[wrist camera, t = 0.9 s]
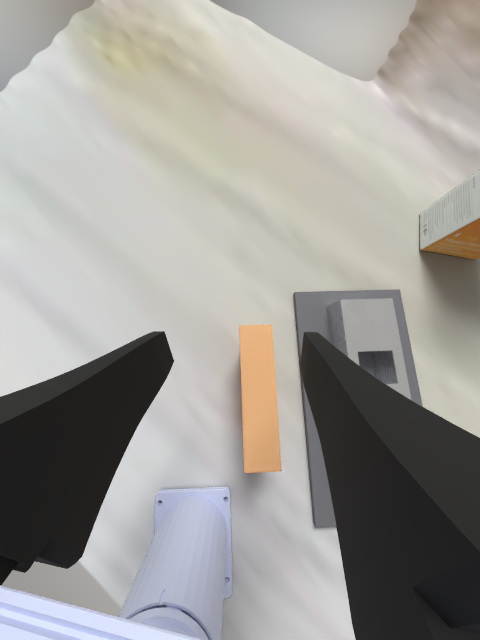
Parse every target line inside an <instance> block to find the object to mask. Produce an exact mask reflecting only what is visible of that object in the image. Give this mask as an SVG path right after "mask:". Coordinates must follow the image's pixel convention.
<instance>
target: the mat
mask: <svg viewBox="0 0 480 640" xmlns="http://www.w3.org/2000/svg"><path fill="white" fill-rule="evenodd" d="M385 298H393V303H394V309H395V314H396V319H397V325H398V330H399V335H400V341H401V346H402V352H403V357H404V362H405V368H406V373H407V378H408V384H409V389H410V395H411V400H412V401H413V402H415V403H417V404H418V405H420V406H422V401H421V396H420V391H419V386H418V381H417V375H416V370H415V365H414V360H413V355H412V350H411V345H410V340H409V334H408V329H407V324H406V319H405V314H404V309H403V304H402V299H401V293H400V290H363V291H325V292H295V293H294V305H295V316H296V327H297V339H298V350H299V361H300V362H301V353H302V344H303V335H304V332H318V333H319V334H321V335H322V336H323V337H324V338H325V339H327V340H328V341H329V342H330V343H331V335H330V327H329V319H328V310H327V306H329V305H331V304H333V303H335V302H337V301H339V300H349V299H385ZM358 358H359V365H360V367H362V368H363V369H364V370H366V371H367V372H369V373H370V374H371V375H373V376H374V377H375V371H374V364H373V358H372V352H371V351H363V352H358ZM300 373H301V366H300ZM301 384H302V395H303V407H304V418H305V430H306V441H307V452H308V464H309V475H310V486H311V498H312V509H313V521H314V524H315V526H316V528H321V527H336V521H335V515H334V510H333V504H332V499H331V493H330V488H329V483H328V478H327V472H326V467H325V462H324V458H323V453H322V448H321V443H320V439H319V435H318V431H317V428H316V425H315V421H314V418H313V415H312V411H311V408H310V405H309V401H308V398H307V394H306V391H305V388H304V384H303V379H302V373H301ZM422 407H423V406H422Z"/></svg>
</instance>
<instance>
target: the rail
mask: <svg viewBox="0 0 480 640" xmlns="http://www.w3.org/2000/svg"><path fill="white" fill-rule="evenodd" d="M327 310H328V319H329V327H330V335H331V344H332V345H334V346H335V347H336V348H337V349H338V350H340V351H341V352H342V353H343V354H345V355H346V356H347V357H348V358H350V359H351V360H352V361H354V362H355V363H356V364H358V365H359V358H358V352H363V351H371V352H372V358H373V364H374V371H375V377H376V378H377V379H379V380H380V381H382V382H383V383H385V384H386V385H388V386H389V387H391V388H392V389H394V390H396V391H397V392H399V393H400V394H402V395H404V396H405V397H407V398H408V399H410V400H411V395H410V389H409V384H408V378H407V373H406V368H405V362H404V357H403V352H402V346H401V341H400V335H399V330H398V325H397V319H396V314H395V309H394V303H393V298H385V299H349V300H339V301H337V302H335V303H333V304H331V305H329V306H327ZM359 366H360V365H359Z"/></svg>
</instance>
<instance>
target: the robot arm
mask: <svg viewBox="0 0 480 640" xmlns="http://www.w3.org/2000/svg"><path fill="white" fill-rule="evenodd" d="M173 362H174V360H173V357H172V353H171V350H170V347H169V344H168V341H167V338H166V335H165V332H152V333H149V334H147V335H144V336H142V337H140V338H138V339H136V340H134V341H132V342H130V343H128V344H126V345H124V346H122V347H120V348H118V349H116V350H114V351H112V352H110V353H108V354H106V355H104V356H102V357H100V358H98V359H95V360H93V361H91V362H89V363H87V364H85V365H83V366H80V367H78V368H76V369H74V370H71V371H69V372H67V373H64V374H62V375H59V376H57V377H54V378H52V379H49V380H47V381H44V382H41V383H38V384H36V385H33V386H30V387H27V388H25V389H22V390H19V391H16V392H13V393H11V394H8V395H5V396H2V397H0V640H222V621H223V602H224V598H229V597H230V596H231V595H232V549H231V500H230V489H229V488H228V487H208V488H188V489H169V490H160V491H158V493H157V495H156V499H155V523H154V537H153V540H152V542H151V544H150V546H149V549H148V551H147V553H146V555H145V558H144V560H143V562H142V564H141V567H140V569H139V571H138V573H137V576H136V578H135V580H134V582H133V585H132V587H131V589H130V591H129V594H128V596H127V598H126V600H125V603H124V605H123V607H122V609H121V612H120V614H119V616H118V617H117V616H113V615H109V614H106V613H102V612H98V611H95V610H91V609H87V608H84V607H80V606H76V605H72V604H69V603H65V602H61V601H57V600H54V599H50V598H46V597H42V596H39V595H35V594H31V593H28V592H24V591H20V590H16V589H13V588H9V587H5V586H1V585H2V584H3V582H4V581H5V580H6V578H7V577H8V575H9V574H10V573H11V571H12V570H17V571H20V572H24V573H25V572H26V571H28V570H29V568H30V567H31V566H32V564H33V563H34V561H36V562H40V563H45V564H49V565H53V566H57V567H62V568H66V569H67V568H69V567H71V566H72V565H74V564H75V563H76V562H77V561H78V560H79V559H80V558H81V557H82V555H83V553H84V550H85V547H86V544H87V542H88V539H89V536H90V534H91V531H92V529H93V526H94V523H95V521H96V518H97V516H98V513H99V510H100V508H101V505H102V503H103V500H104V498H105V496H106V493H107V491H108V489H109V486H110V484H111V482H112V479H113V477H114V474H115V472H116V470H117V468H118V466H119V464H120V461H121V459H122V457H123V455H124V453H125V451H126V448H127V446H128V444H129V442H130V440H131V438H132V436H133V434H134V432H135V430H136V428H137V426H138V425H139V423H140V421H141V419H142V418H143V416H144V414H145V413H146V411H147V409H148V408H149V406H150V405H151V403H152V401H153V400H154V398H155V396H156V395H157V393H158V392H159V390H160V388H161V387H162V385H163V383H164V382H165V380H166V378H167V376H168V374H169V372H170V370H171V367H172V365H173ZM300 366H301V373H302V379H303V384H304V388H305V391H306V394H307V398H308V401H309V405H310V408H311V411H312V415H313V418H314V421H315V425H316V428H317V431H318V435H319V439H320V443H321V448H322V453H323V458H324V462H325V467H326V472H327V478H328V483H329V488H330V493H331V499H332V504H333V510H334V515H335V521H336V527H337V532H338V538H339V544H340V549H341V556H342V562H343V568H344V574H345V580H346V586H347V592H348V599H349V605H350V612H351V618H352V625H353V629H354V634H355V638H356V640H480V438H479V437H477V436H475V435H473V434H471V433H469V432H467V431H465V430H463V429H461V428H460V427H458V426H456V425H454V424H452V423H450V422H449V421H447V420H445V419H443V418H441V417H440V416H438V415H436V414H434V413H433V412H431V411H429V410H427V409H425V408H424V407H422V406H420V405H418V404H417V403H415V402H413V401H412V400H410V399H408V398H407V397H405V396H404V395H402V394H400V393H399V392H397V391H396V390H394V389H392V388H391V387H389V386H388V385H386V384H385V383H383V382H382V381H380V380H379V379H377V378H376V377H374V376H373V375H371V374H370V373H369V372H367V371H366V370H364V369H363V368H362V367H360V366H359V365H358V364H356V363H355V362H354V361H352V360H351V359H350V358H348V357H347V356H346V355H345V354H343V353H342V352H341V351H340V350H338V349H337V348H336V347H335V346H334V345H332V344H331V343H330V342H329V341H328V340H327V339H325V338H324V337H323V336H322V335H321V334H319V333H318V332H304V335H303V344H302V353H301V362H300ZM224 497H227V498H228V499H224ZM159 500H161V501H162V503H160V502H159ZM226 577H229V578H226Z"/></svg>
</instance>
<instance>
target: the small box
mask: <svg viewBox="0 0 480 640" xmlns="http://www.w3.org/2000/svg"><path fill="white" fill-rule="evenodd" d="M420 250H422V251H430V252H436V253H441V254H447V255H453V256H458V257H464V258H469V259H474V260H475V259H478V258H480V169H479V170H478V171H477V172H475V173H474V174H472V175H471V176H470V177H468V178H467V179H466V180H464V181H463V182H462V183H460V184H459V185H458V186H456V187H455V188H454V189H452V190H451V191H449V192H448V193H447V194H445V195H444V196H443V197H441V198H440V199H439V200H437V201H436V202H435V203H433V204H432V205H431V206H429V207H428V208H427V209H425V210H424V211H423V212H421V213H420Z"/></svg>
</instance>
